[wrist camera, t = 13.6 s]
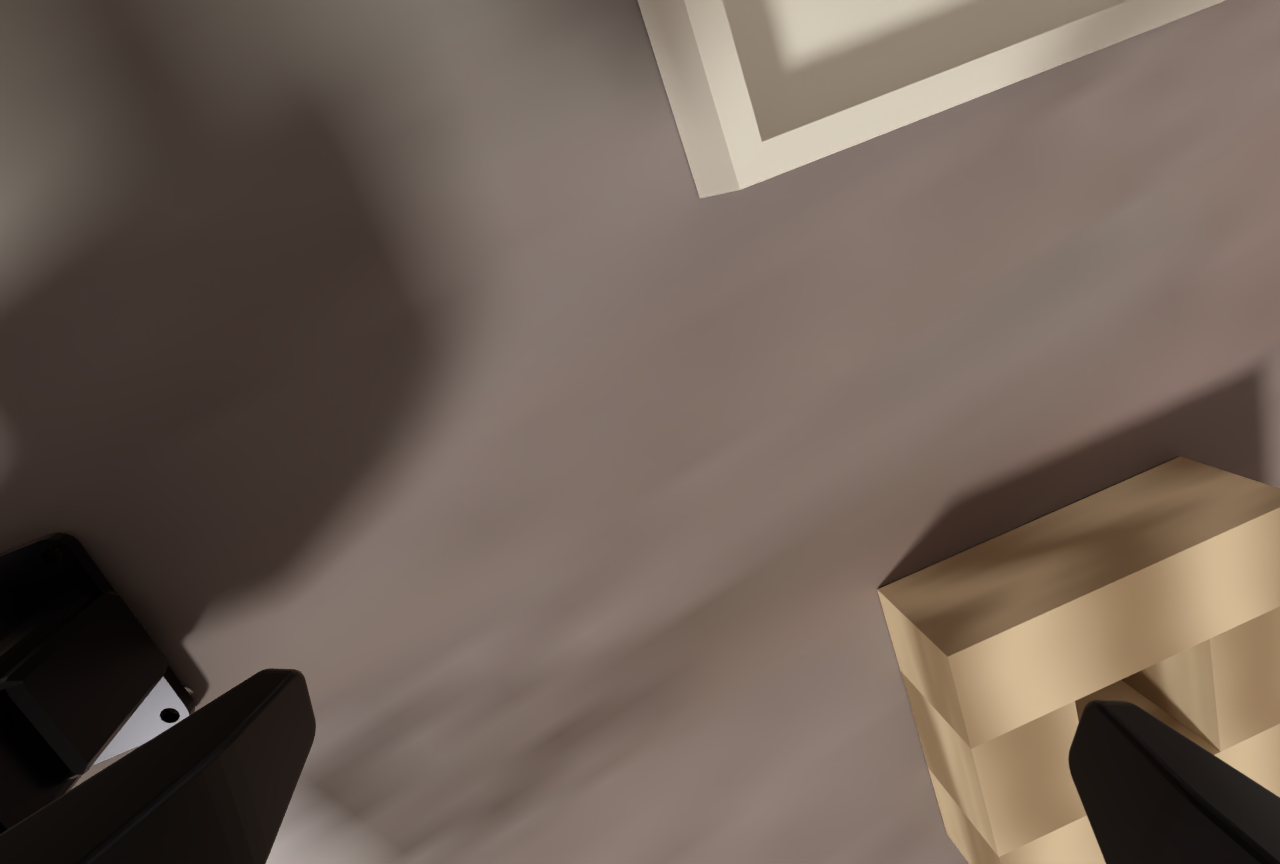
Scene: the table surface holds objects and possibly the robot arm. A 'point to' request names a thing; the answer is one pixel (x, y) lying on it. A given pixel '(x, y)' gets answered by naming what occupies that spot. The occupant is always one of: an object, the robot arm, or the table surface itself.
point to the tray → (855, 67)
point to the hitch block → (1092, 650)
